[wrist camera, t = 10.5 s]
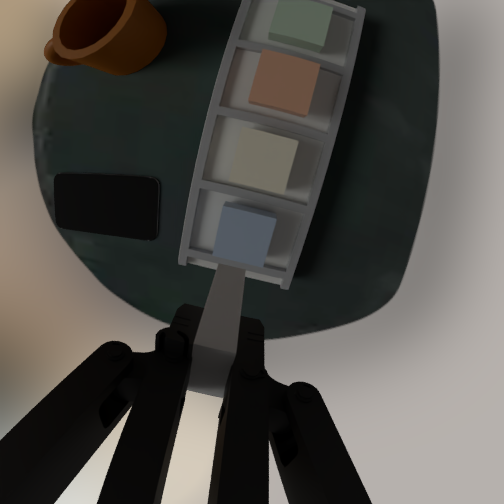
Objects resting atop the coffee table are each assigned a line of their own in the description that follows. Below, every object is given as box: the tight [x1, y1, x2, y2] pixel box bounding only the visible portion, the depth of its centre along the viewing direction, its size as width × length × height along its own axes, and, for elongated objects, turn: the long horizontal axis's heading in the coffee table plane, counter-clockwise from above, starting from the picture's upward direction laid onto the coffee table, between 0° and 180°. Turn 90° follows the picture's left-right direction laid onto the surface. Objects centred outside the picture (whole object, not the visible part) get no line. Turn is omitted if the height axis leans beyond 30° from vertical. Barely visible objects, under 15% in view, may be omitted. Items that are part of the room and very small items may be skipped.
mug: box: [44, 0, 167, 75], centre depth 17 cm, size 9×12×9 cm
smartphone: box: [54, 173, 160, 241], centre depth 29 cm, size 7×1×15 cm
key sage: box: [268, 0, 333, 53], centre depth 18 cm, size 5×5×2 cm
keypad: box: [178, 0, 366, 290], centre depth 24 cm, size 31×12×3 cm, turn 166°
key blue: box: [212, 201, 277, 268], centre depth 26 cm, size 5×5×2 cm
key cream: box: [229, 127, 299, 195], centre depth 23 cm, size 5×5×2 cm
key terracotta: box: [248, 49, 321, 118], centre depth 20 cm, size 5×5×2 cm
